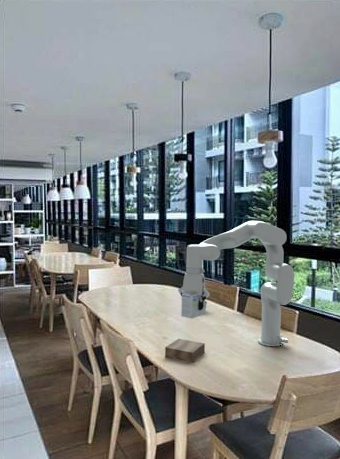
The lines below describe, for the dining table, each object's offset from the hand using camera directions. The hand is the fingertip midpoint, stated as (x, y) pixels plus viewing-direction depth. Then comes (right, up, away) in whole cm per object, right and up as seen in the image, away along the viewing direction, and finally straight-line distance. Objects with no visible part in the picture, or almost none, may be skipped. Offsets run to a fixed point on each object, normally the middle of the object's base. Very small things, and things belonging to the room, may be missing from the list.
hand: (193, 308), depth 181 cm
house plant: (+12, -19, +82) cm, 85 cm away
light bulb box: (0, -4, 0) cm, 4 cm away
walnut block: (-4, -23, +1) cm, 23 cm away
